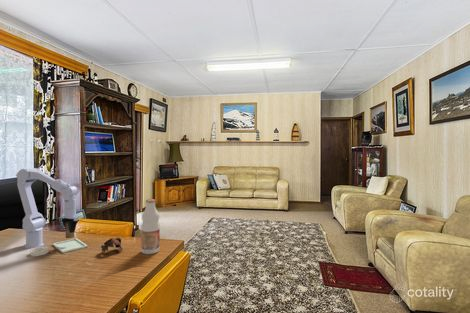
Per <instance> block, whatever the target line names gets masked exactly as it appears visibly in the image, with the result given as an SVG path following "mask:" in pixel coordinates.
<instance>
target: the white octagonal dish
mask: <svg viewBox="0 0 470 313" xmlns="http://www.w3.org/2000/svg"><path fill="white" fill-rule="evenodd" d="M29 251H30V252H29V255H30V257H39V256H44V255H47V253H49V247H48V246H40V247H35V248H31V250H30V249H29Z"/></svg>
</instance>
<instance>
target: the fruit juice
mask: <svg viewBox="0 0 470 313" xmlns="http://www.w3.org/2000/svg"><path fill="white" fill-rule="evenodd" d="M145 203H146V206H145V209H144V211H143V212H142V214H141V221H142V223H141V228H140V229H141V235H140V236H141V237H140V238H141V240H140V242H141V243H140V244H141V245H140V246H141V247H140V249H141V250H140V251H141V253H142V254H144V255H152V254H156V253H158V252H159V251H160V244H161V243H160V240H161V238H160V237H161V236H160V235H161V233H160V230H161V228H160V227H161V226H160V221H159V220H160V212H159V211H158V210H157V207H156V199H154V198H153V199H152V198H150V199H146V200H145Z"/></svg>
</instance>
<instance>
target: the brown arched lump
mask: <svg viewBox="0 0 470 313" xmlns="http://www.w3.org/2000/svg"><path fill="white" fill-rule="evenodd" d="M121 244H122V239H121V238H120V237H116V238H114V237H112V238H109V239H108V240H106V241H105V242H103V244H102V245H101V246H100V248H101V252H104V253H106V251H109V248H114V247H115V248H116V249H117V251H118V253H119V254H121V253H122V251H123V247H122V245H121Z"/></svg>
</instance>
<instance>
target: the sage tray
mask: <svg viewBox="0 0 470 313" xmlns="http://www.w3.org/2000/svg"><path fill="white" fill-rule="evenodd" d="M52 246H53V247H54V248H55V249H56V250H58V251H59V252H60V253H62V254H66V253H70V252H76V251H78V250H82V249H86V248H89V247H88V244H86V243H85V242H83V241H82V240H80V239H79V238H70V239H67V240H62V241H58V242H54V243H52Z"/></svg>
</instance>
